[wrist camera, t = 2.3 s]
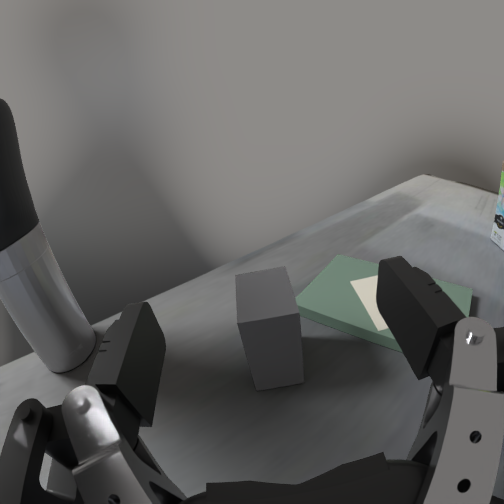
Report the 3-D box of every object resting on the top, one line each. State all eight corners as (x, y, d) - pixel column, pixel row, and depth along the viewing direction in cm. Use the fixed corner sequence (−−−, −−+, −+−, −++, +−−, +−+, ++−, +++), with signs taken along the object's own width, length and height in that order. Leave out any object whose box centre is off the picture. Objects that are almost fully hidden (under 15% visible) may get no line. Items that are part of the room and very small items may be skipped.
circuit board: (292, 312, 34) (288, 281, 31) (338, 263, 41) (337, 235, 39) (454, 369, 21) (469, 338, 19) (469, 298, 28) (478, 268, 26)
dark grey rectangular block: (304, 382, 25) (299, 312, 20) (256, 390, 25) (237, 323, 20) (292, 336, 30) (285, 266, 26) (251, 343, 30) (235, 275, 26)
